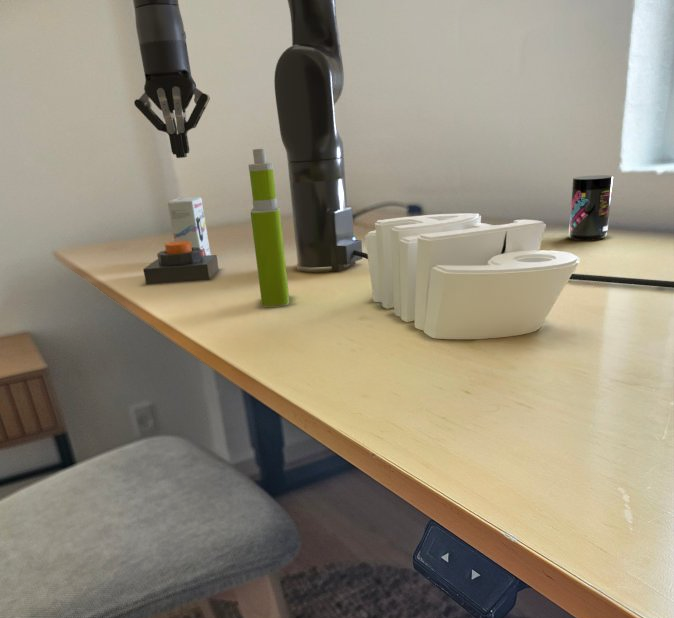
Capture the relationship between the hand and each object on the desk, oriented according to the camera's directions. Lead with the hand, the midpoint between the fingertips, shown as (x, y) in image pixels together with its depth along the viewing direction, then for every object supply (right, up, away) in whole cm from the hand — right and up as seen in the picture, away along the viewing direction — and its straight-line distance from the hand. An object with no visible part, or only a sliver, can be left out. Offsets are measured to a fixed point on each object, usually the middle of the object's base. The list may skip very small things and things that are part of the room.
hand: (181, 157), depth 114 cm
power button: (0, -17, 0) cm, 17 cm away
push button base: (0, -20, +2) cm, 20 cm away
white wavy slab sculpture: (+42, -33, -30) cm, 62 cm away
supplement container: (+73, -12, +7) cm, 75 cm away
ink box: (-1, -14, +15) cm, 20 cm away
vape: (+18, -30, -20) cm, 40 cm away
